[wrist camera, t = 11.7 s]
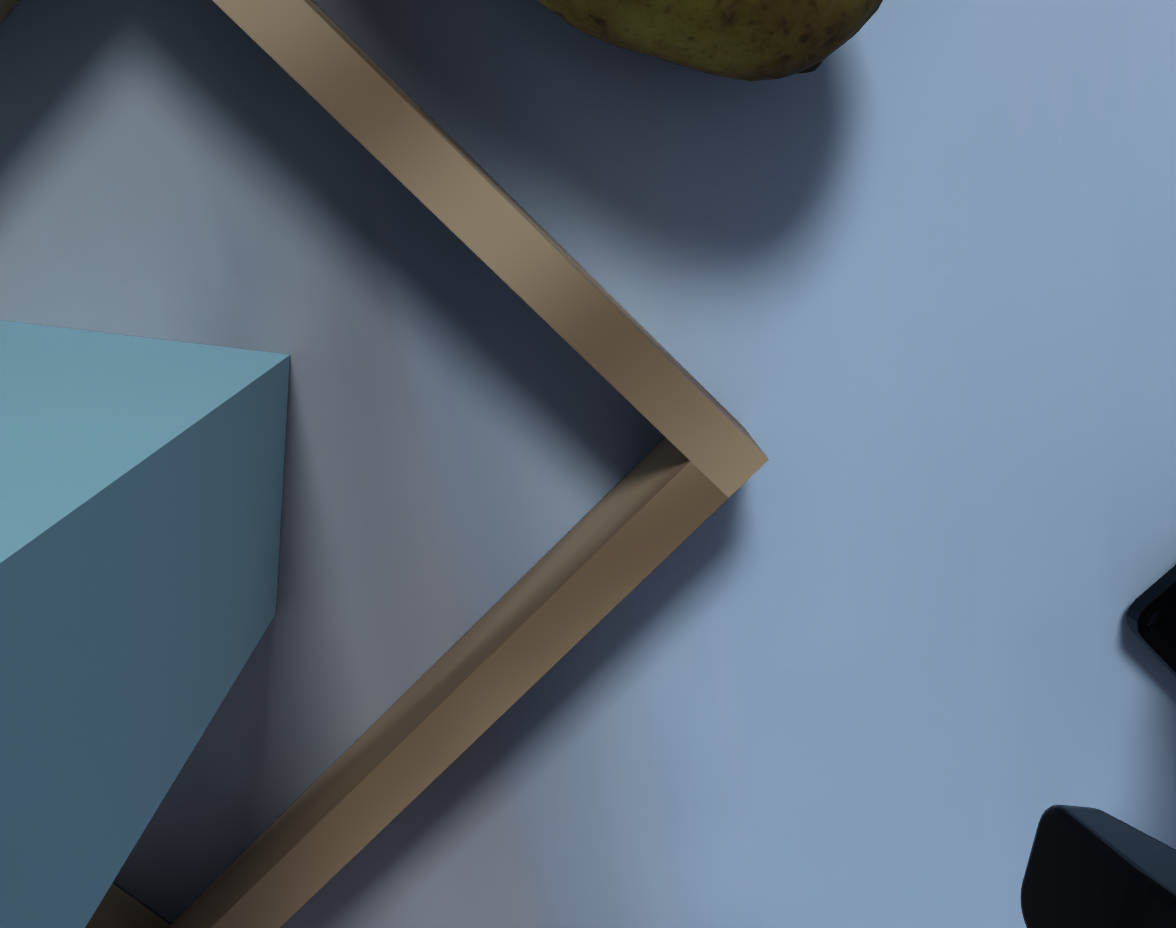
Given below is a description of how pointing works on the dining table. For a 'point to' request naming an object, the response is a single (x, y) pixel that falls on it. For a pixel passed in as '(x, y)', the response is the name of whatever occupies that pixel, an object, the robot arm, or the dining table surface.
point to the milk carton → (121, 587)
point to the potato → (724, 31)
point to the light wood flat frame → (558, 581)
